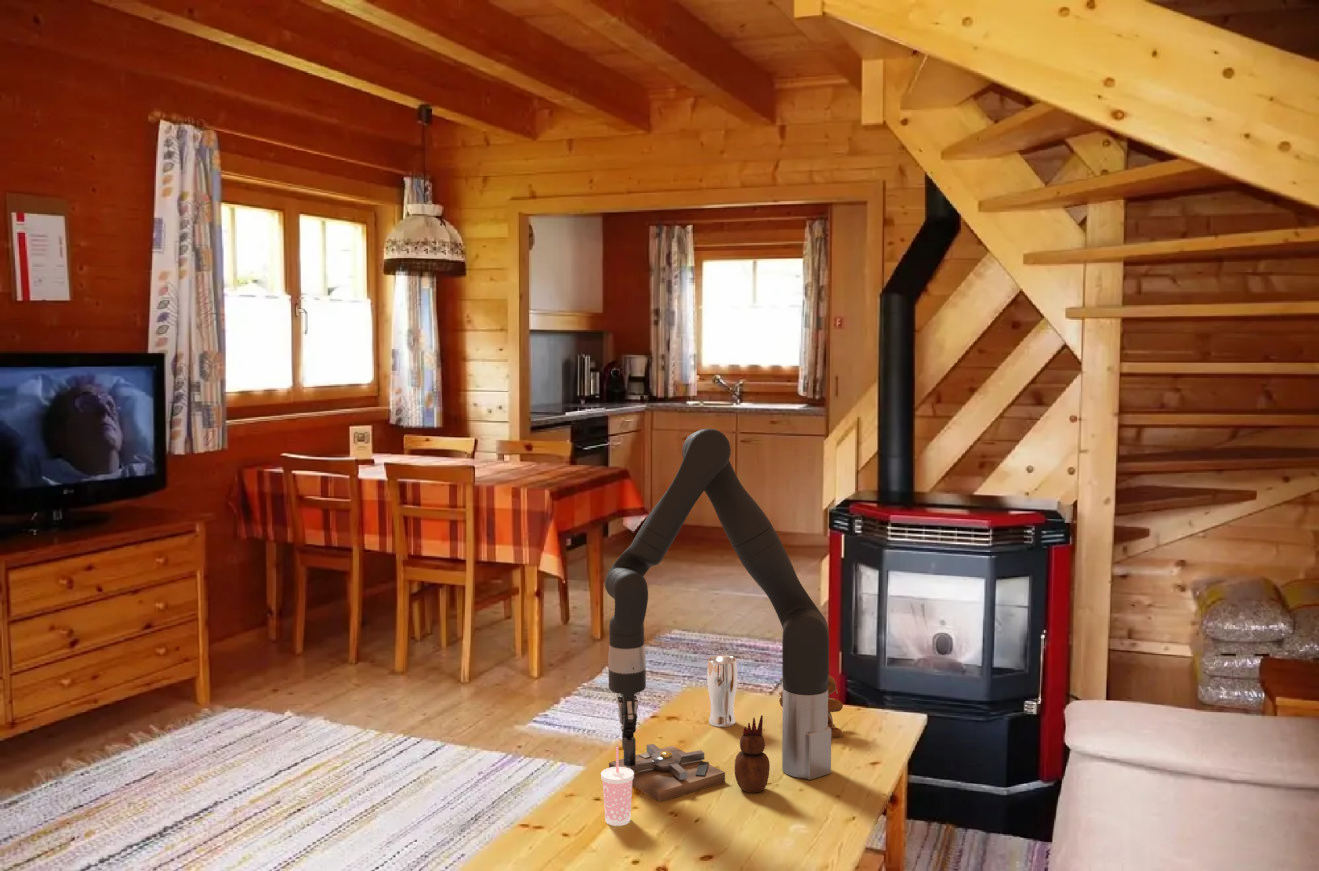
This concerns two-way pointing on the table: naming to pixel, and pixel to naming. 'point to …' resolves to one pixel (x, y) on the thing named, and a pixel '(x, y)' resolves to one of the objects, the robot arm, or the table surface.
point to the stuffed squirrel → (829, 707)
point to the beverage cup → (617, 793)
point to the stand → (674, 777)
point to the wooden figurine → (752, 760)
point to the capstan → (658, 759)
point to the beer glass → (722, 689)
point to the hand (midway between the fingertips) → (627, 749)
